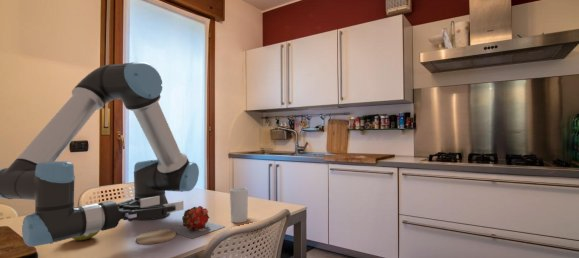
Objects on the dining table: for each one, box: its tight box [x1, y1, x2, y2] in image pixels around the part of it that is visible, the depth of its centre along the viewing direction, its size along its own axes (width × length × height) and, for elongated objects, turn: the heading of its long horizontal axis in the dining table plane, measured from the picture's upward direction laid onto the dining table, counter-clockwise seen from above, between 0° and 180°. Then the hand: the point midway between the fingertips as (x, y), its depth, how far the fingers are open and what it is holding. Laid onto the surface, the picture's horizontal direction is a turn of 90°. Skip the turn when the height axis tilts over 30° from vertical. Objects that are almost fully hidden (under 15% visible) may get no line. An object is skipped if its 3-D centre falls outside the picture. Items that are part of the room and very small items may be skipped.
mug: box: [229, 187, 249, 224], centre depth 118 cm, size 10×7×12 cm, turn 161°
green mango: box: [72, 231, 100, 241], centre depth 98 cm, size 11×8×8 cm
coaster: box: [135, 229, 177, 245], centre depth 99 cm, size 12×12×1 cm
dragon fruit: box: [181, 205, 211, 231], centre depth 107 cm, size 8×8×12 cm
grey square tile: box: [169, 221, 226, 239], centre depth 107 cm, size 14×14×1 cm
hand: (170, 202), depth 99 cm, fingers open, 13 cm apart
